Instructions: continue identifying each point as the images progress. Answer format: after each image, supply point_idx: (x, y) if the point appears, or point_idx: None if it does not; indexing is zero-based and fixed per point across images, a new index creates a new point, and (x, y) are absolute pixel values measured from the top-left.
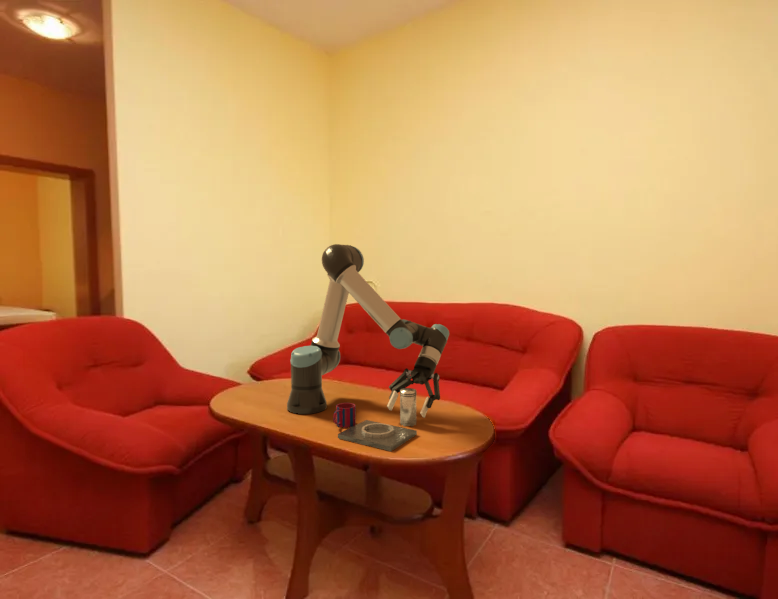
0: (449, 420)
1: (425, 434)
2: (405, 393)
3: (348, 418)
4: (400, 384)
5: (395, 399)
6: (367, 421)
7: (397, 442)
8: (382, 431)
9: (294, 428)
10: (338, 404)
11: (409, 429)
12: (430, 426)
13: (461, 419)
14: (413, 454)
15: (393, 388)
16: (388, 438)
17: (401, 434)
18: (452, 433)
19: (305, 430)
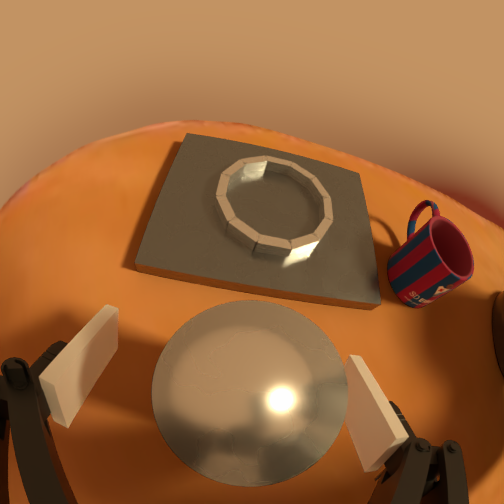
0: None
1: (106, 289)
2: (247, 305)
3: (407, 241)
4: (407, 496)
5: (357, 432)
6: (367, 290)
7: (177, 155)
8: (262, 214)
9: (450, 216)
10: (469, 249)
11: (166, 264)
12: (108, 393)
13: None
14: (126, 146)
15: (425, 445)
16: (214, 169)
17: (183, 208)
18: (20, 329)
19: None
